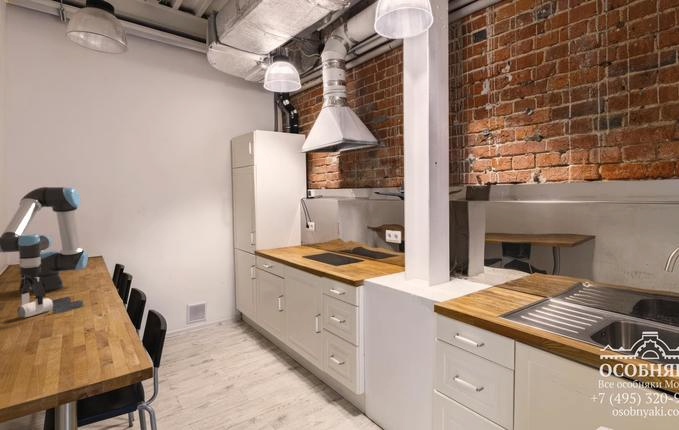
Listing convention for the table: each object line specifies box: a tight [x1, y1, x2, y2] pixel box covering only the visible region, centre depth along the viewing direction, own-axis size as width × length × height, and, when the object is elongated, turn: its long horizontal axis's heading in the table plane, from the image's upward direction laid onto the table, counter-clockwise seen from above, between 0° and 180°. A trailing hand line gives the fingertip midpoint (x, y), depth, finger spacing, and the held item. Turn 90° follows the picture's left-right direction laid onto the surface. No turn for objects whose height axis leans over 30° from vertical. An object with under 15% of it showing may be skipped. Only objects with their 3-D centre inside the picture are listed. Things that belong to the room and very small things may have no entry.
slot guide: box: [51, 296, 84, 315], centre depth 174 cm, size 15×12×3 cm
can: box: [16, 297, 53, 319], centre depth 165 cm, size 6×6×12 cm
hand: (32, 308), depth 164 cm, fingers open, 13 cm apart
